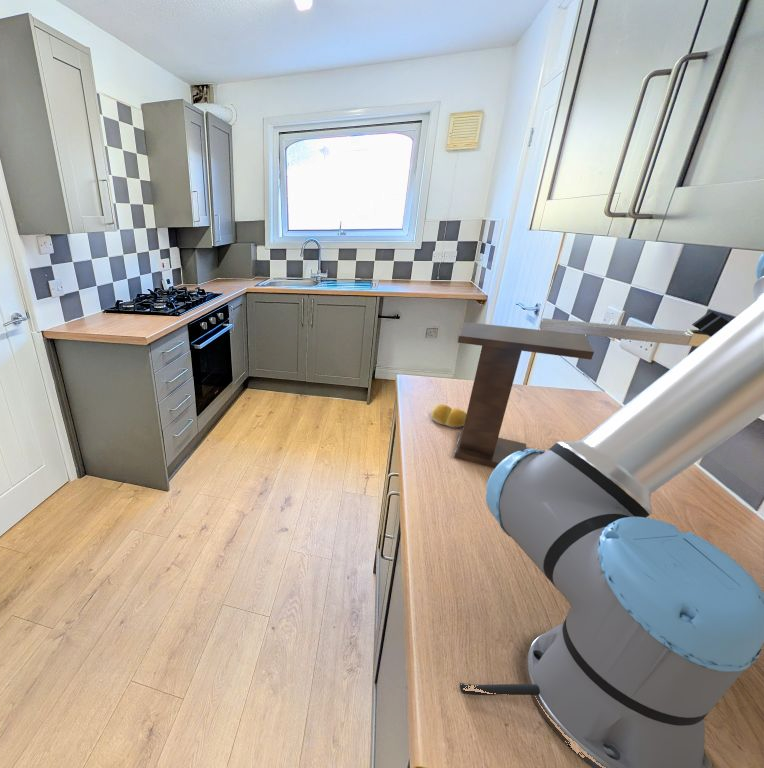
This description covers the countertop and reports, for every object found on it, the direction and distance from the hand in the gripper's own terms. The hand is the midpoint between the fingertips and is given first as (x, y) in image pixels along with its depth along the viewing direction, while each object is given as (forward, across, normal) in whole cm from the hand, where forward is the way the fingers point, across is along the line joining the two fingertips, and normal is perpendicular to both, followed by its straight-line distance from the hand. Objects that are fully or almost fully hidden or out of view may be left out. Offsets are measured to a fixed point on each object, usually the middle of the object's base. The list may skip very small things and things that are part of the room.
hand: (706, 321), depth 60 cm
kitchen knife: (+3, 0, -6) cm, 6 cm away
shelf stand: (+1, +8, -43) cm, 44 cm away
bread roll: (+10, +20, -48) cm, 53 cm away
